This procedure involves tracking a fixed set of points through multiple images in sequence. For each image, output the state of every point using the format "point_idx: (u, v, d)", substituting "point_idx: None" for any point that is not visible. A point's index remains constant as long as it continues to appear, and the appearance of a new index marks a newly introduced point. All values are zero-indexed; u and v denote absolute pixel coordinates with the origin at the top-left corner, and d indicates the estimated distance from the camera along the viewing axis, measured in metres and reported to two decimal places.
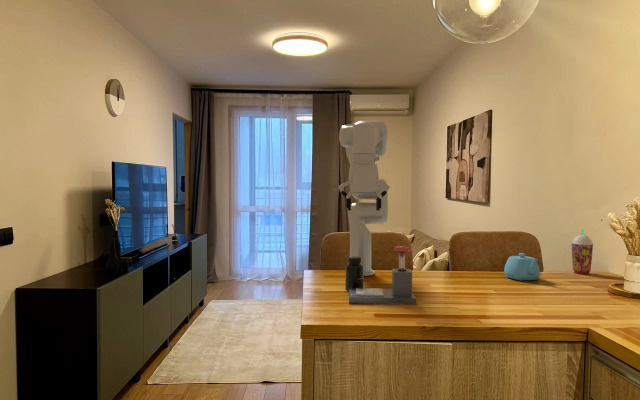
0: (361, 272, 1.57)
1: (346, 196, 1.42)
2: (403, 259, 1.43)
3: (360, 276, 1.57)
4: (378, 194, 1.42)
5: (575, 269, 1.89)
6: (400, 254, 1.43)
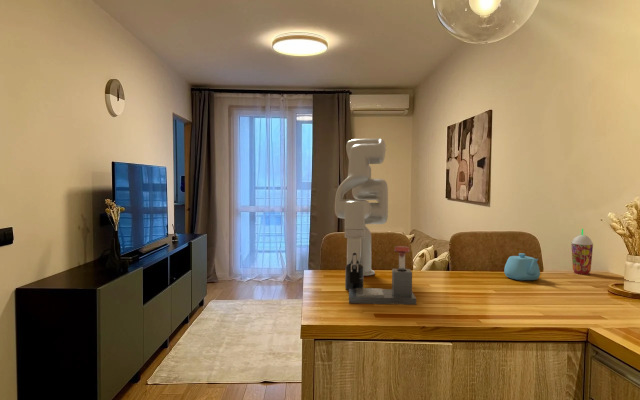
0: (361, 272, 1.57)
1: (357, 270, 1.55)
2: (403, 259, 1.43)
3: (360, 276, 1.57)
4: None
5: (575, 269, 1.89)
6: (400, 254, 1.43)
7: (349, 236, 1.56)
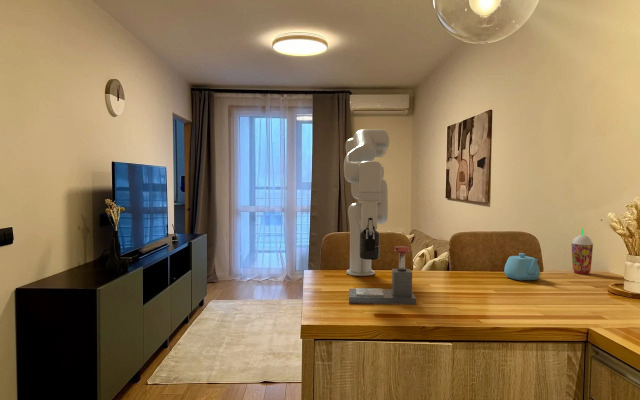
0: (377, 239, 1.43)
1: (373, 237, 1.40)
2: (403, 259, 1.43)
3: (376, 244, 1.42)
4: None
5: (575, 269, 1.89)
6: (400, 254, 1.43)
7: (364, 199, 1.41)
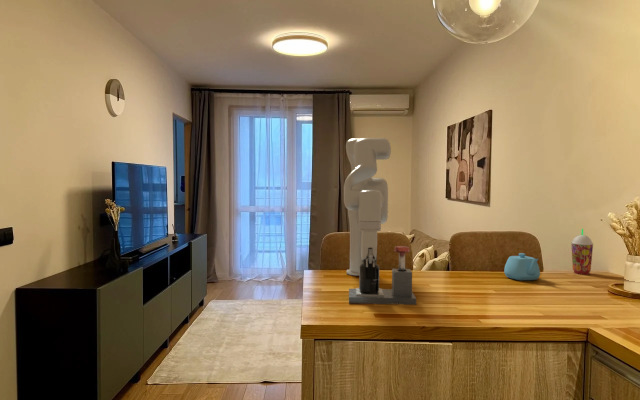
0: (377, 273, 1.43)
1: (373, 265, 1.39)
2: (403, 259, 1.43)
3: (376, 277, 1.43)
4: None
5: (575, 269, 1.89)
6: (400, 254, 1.43)
7: (364, 229, 1.42)
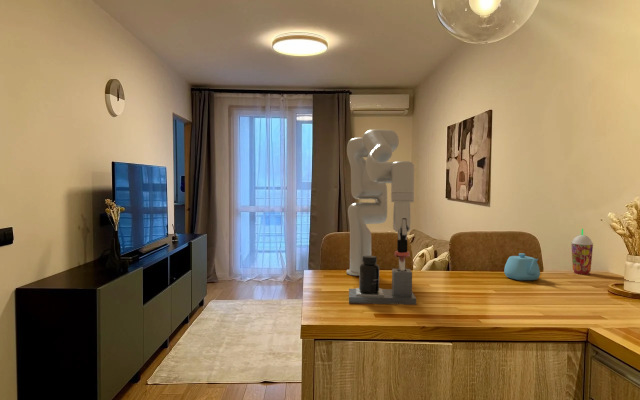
0: (377, 273, 1.43)
1: (406, 238, 1.42)
2: (403, 264, 1.43)
3: (376, 277, 1.43)
4: None
5: (575, 269, 1.89)
6: (400, 259, 1.44)
7: (397, 200, 1.41)
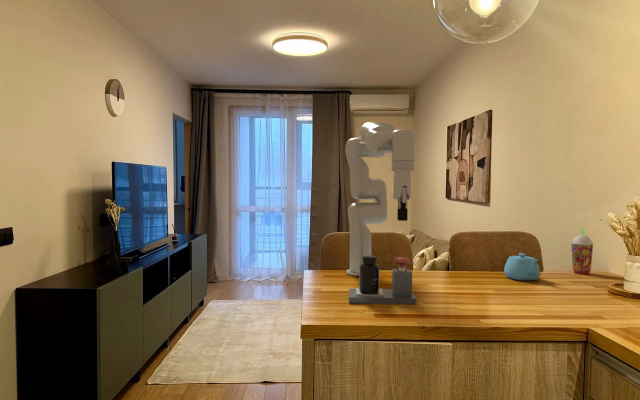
0: (377, 273, 1.43)
1: (406, 206, 1.42)
2: None
3: (376, 277, 1.43)
4: None
5: (575, 269, 1.89)
6: (400, 266, 1.44)
7: (398, 168, 1.41)
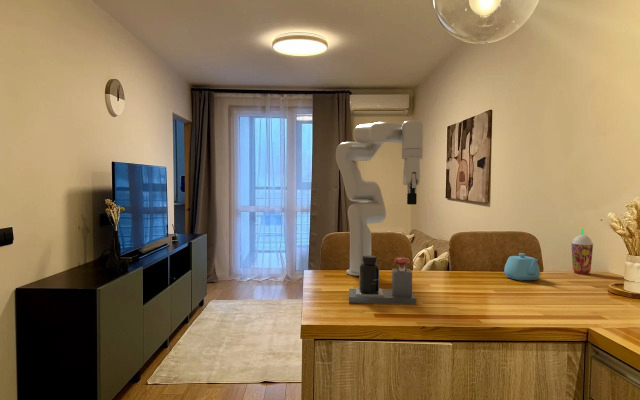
0: (377, 273, 1.43)
1: (415, 191, 1.55)
2: None
3: (376, 277, 1.43)
4: None
5: (575, 269, 1.89)
6: (400, 266, 1.44)
7: (408, 156, 1.53)
